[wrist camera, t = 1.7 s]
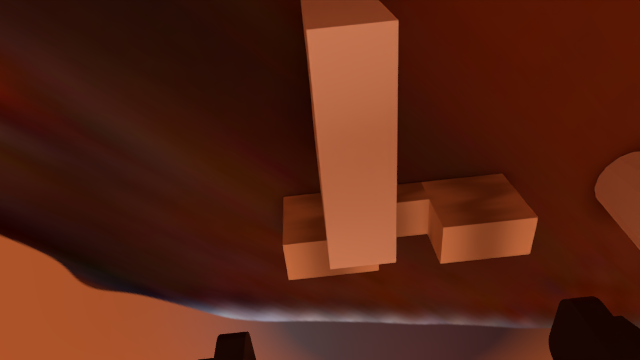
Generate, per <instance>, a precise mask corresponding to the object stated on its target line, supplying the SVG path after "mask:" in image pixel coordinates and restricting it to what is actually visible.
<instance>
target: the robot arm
mask: <svg viewBox="0 0 640 360" xmlns="http://www.w3.org/2000/svg"><path fill="white" fill-rule="evenodd" d="M549 349H550V352H551V355H552V357H553V360H640V329H639V328H638V327H637V326H635V325H634V324H632V323H631V322H630V321H628V320H627V319H625V318H624V317H623V316H613V315H612V314H611V313H610V311H609V310H608V309H607V308H606V306H605V305H604V304H603V303H602V302H601V301H600V300H599V299H598V298H596V297H594V296H590V297H580V298H571V299H563V300H561V301H560V303H559V306H558V309H557V312H556V316H555V319H554V322H553V325H552V328H551V332H550V335H549ZM199 360H256V358H255V354H254V350H253V346H252V342H251V338H250V334H249V332H239V333H230V334H220V335H219V336H218V338H217V342H216V348H215V354H214V358H209V359H199Z"/></svg>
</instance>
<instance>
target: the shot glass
mask: <svg viewBox="0 0 640 360" xmlns="http://www.w3.org/2000/svg"><path fill="white" fill-rule="evenodd" d="M594 189H595V195H596V198H597V200H598V201H599V202H600V203H601V204H602V205H603V207H604V208H605V209H606V210H607V211H608V213H609V214H610V215H611V216H612V217H613V219H614V220H615V221H616V222H617V223H618V224H619V226H620V227H621V228H622V229H623V230H624V232H625V233H626V234H627V235H628V236H629V238H630V239H631V240H632V241H633V242H634V244H635V245H636V246H637V247H638V248H639V249H640V151H639V152H631V153H629V154H626V155H624V156H622V157H619V158H618V159H616V160H615V161H613V162H612V163H611V164H609V165H608V166H607V167H606V168H605V169H604V171H603V172H602V173H601V174H600V176H599V177H598V179H597V182H596V185H595V188H594Z"/></svg>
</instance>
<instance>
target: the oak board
mask: <svg viewBox="0 0 640 360" xmlns="http://www.w3.org/2000/svg"><path fill="white" fill-rule="evenodd" d="M537 220H538V217H537V216H536V214H535V213H534V212H533V211H532V209H531V208H530V207H529V206H528V204H527V203H526V202H525V201H524V199H523V198H522V197H521V196H520V195H519V193H518V192H517V191H516V190H515V188H514V187H513V186H512V185H511V183H510V182H509V181H508V180H507V179H506V177H505V176H504V175H503V174H502V173H501V174H491V175H482V176H473V177H463V178H454V179H445V180H435V181H426V182H417V183H407V184H398V185H397V206H396V237H402V236H411V235H420V234H428V236H429V238H430V241H431V243H432V245H433V248H434V250H435V252H436V255H437V257H438V259H439V262H440V264H442V263H451V262H460V261H469V260H478V259H488V258H497V257H506V256H515V255H524V254H530V251H531V246H532V242H533V238H534V233H535V229H536V225H537ZM283 249H284V255H285V261H286V266H287V272H288V278H289V280H294V279H304V278H313V277H322V276H331V275H340V274H350V273H359V272H368V271H377V270H379V264H376V265H366V266H357V267H348V268H339V269H330V263H329V255H328V247H327V238H326V230H325V221H324V213H323V204H322V196H321V193H314V194H305V195H295V196H286V197H283Z"/></svg>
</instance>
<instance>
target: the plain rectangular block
mask: <svg viewBox="0 0 640 360" xmlns="http://www.w3.org/2000/svg"><path fill="white" fill-rule="evenodd" d="M301 9H302V18H303V28H304V38H305V46H306V54H307V63H308V73H309V83H310V93H311V102H312V105H311V106H312V115H313V125H314V135H315V145H316V154H317V162H318V171H319V179H320V187H321V196H322V204H323V213H324V221H325V230H326V238H327V247H328V255H329V263H330V269H339V268H348V267H357V266H366V265H376V264H385V263H394V262H396V206H397V110H398V19H397V18H396V17H395V16H394V15H393V14H392V13H391V12H390V11H389V10H388V9H387V8H386V7H385V6H384V5H383V4H382V3H381V2H380V1H379V0H301Z"/></svg>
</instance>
